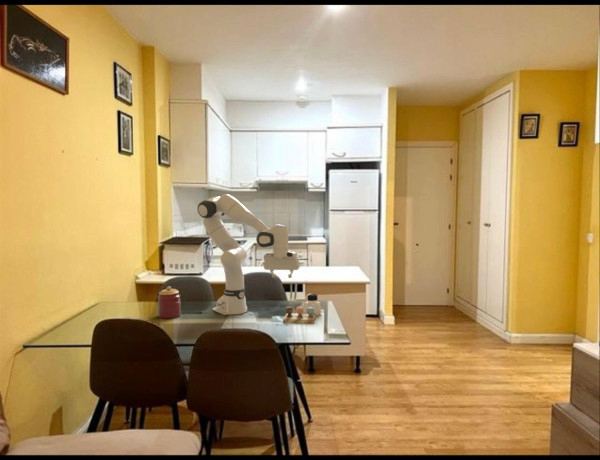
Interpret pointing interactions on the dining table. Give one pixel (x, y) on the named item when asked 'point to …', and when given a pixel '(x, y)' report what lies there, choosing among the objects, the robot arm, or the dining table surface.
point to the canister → (169, 303)
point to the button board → (299, 318)
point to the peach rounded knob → (299, 311)
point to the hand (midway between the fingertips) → (282, 277)
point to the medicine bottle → (312, 304)
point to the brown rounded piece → (289, 310)
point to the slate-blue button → (310, 311)
